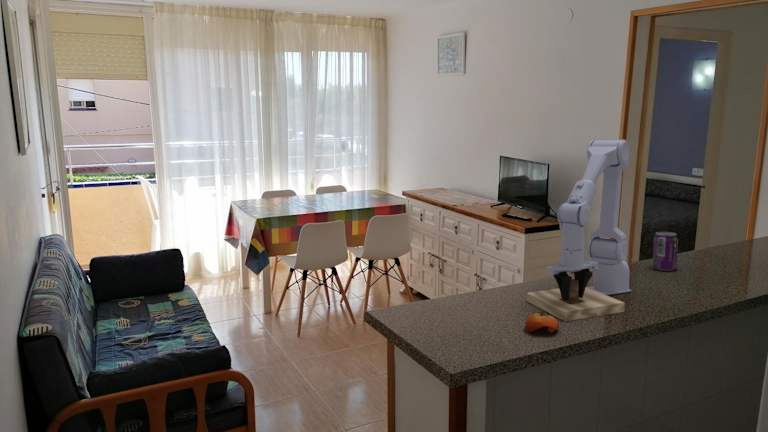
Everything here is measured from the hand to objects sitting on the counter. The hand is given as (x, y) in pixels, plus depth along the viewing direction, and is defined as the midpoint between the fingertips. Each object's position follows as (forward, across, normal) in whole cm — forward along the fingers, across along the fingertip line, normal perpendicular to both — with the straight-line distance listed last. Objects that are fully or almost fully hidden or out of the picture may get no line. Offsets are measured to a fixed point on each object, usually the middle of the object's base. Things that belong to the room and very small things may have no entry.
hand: (572, 298), depth 153 cm
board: (+3, -2, -2) cm, 4 cm away
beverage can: (+3, -51, -22) cm, 56 cm away
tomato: (+4, +16, +10) cm, 19 cm away
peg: (+2, 0, 0) cm, 2 cm away
